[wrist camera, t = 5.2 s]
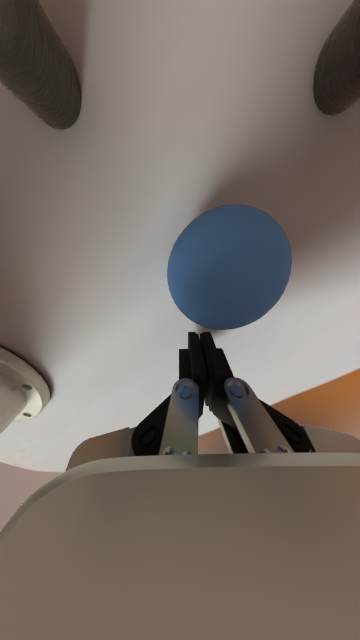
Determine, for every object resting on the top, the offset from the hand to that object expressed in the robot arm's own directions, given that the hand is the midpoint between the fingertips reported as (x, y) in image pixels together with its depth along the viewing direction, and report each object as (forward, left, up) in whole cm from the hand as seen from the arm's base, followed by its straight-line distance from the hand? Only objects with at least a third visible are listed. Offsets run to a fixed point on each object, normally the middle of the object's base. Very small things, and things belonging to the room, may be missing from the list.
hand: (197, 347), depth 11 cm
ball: (+1, +6, +1) cm, 6 cm away
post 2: (+6, +13, -2) cm, 15 cm away
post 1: (-7, +13, -2) cm, 15 cm away
